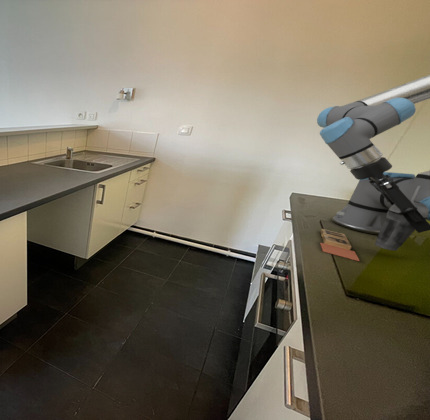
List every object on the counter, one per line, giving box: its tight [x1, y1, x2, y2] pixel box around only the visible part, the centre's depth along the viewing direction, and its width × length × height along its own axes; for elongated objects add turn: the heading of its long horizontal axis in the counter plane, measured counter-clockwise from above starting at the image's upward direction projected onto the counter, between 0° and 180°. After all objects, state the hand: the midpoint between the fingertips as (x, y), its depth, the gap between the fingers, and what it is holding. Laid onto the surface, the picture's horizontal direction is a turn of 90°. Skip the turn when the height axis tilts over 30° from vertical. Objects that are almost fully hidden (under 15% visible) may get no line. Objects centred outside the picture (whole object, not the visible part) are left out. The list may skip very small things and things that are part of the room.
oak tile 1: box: [319, 228, 349, 241], centre depth 89 cm, size 6×6×2 cm
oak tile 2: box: [321, 235, 352, 250], centre depth 84 cm, size 6×6×2 cm
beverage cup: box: [374, 186, 429, 252], centre depth 74 cm, size 7×7×20 cm
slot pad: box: [319, 242, 360, 262], centre depth 80 cm, size 8×8×1 cm
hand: (419, 226), depth 72 cm, fingers closed on beverage cup, 7 cm apart
